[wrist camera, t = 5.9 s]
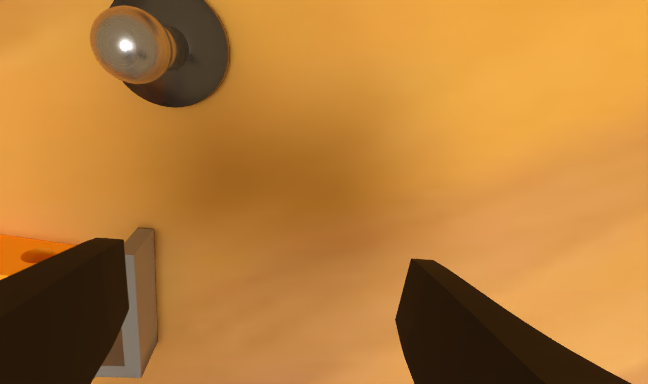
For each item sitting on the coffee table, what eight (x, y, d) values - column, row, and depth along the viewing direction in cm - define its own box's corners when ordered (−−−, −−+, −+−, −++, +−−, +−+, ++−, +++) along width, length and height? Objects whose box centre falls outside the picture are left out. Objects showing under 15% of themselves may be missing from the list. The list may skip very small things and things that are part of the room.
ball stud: (227, 111, 17) (201, 136, 12) (116, 97, 16) (38, 117, 11) (232, -6, 15) (204, -35, 10) (108, -27, 14) (10, -70, 9)
